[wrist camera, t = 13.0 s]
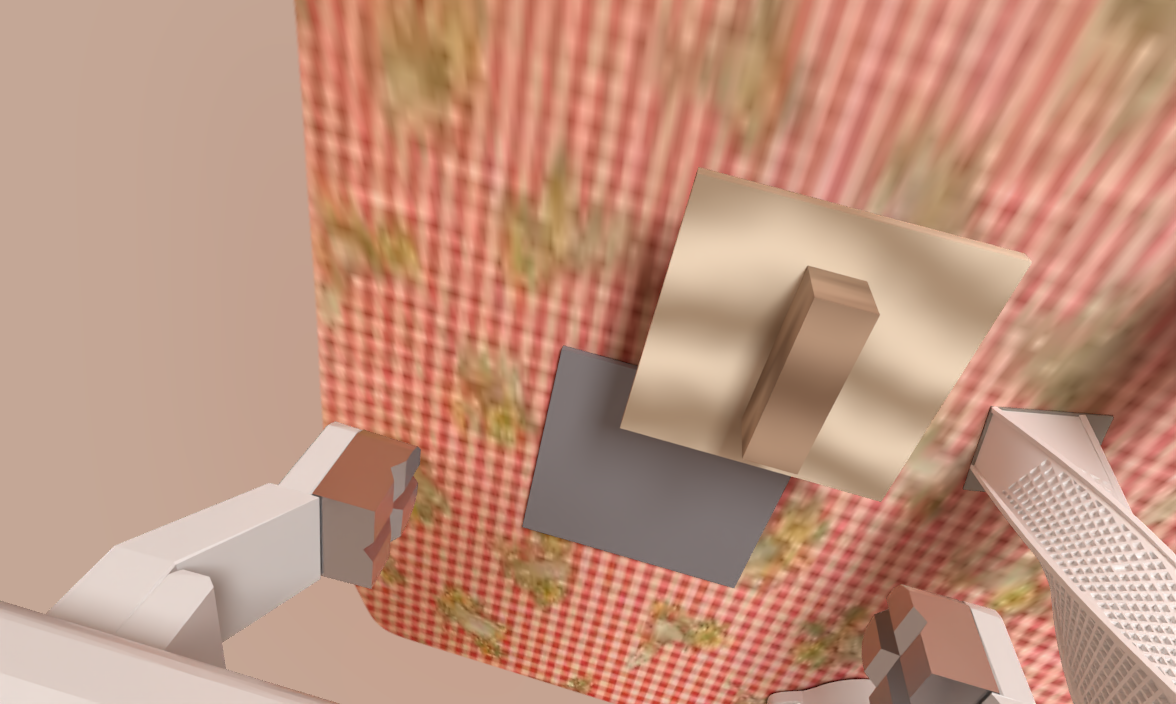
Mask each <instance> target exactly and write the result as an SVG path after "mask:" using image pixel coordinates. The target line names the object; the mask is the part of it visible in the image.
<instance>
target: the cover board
mask: <svg viewBox="0 0 1176 704" xmlns="http://www.w3.org/2000/svg"><path fill="white" fill-rule="evenodd" d="M1031 263H1032V261H1031V260H1030V259H1029V258H1028V257H1027V256H1026V254H1025V253H1021V252H1017V251H1013V250H1010V249H1006V248H1002V247H998V246H994V245H991V244H987V243H983V242H979V241H976V240H972V239H968V238H964V237H960V236H957V235H953V234H949V233H945V232H942V231H938V230H934V229H930V228H927V227H923V226H919V225H915V224H911V223H908V222H904V221H900V220H896V219H893V218H889V217H885V216H881V215H877V214H874V213H870V212H866V211H862V210H859V209H855V208H851V207H847V206H843V205H840V204H836V203H832V202H828V201H825V200H821V199H817V198H813V197H809V196H806V195H802V194H798V193H794V192H791V191H787V190H783V189H779V188H775V187H772V186H768V185H764V184H760V183H757V182H753V181H749V180H745V179H741V178H738V177H734V176H730V175H726V174H723V173H719V172H715V171H711V170H708V169H704V168H700V167H698V170H697V173H696V177H695V180H694V183H693V186H692V190H691V193H690V196H689V200H688V203H687V206H686V210H685V213H684V216H683V219H682V223H681V226H680V229H679V233H678V236H677V239H676V243H675V246H674V249H673V252H672V256H671V259H670V262H669V266H668V269H667V272H666V276H665V279H664V282H663V285H662V289H661V292H660V295H659V299H658V302H657V305H656V309H655V312H654V315H653V318H652V322H651V325H650V328H649V332H648V335H647V338H646V341H645V345H644V348H643V351H642V355H641V358H640V361H639V365H638V368H637V371H636V374H635V378H634V381H633V384H632V388H631V391H630V394H629V398H628V401H627V404H626V407H625V411H624V414H623V417H622V421H621V426H620V428H621V429H625V430H629V431H632V432H636V433H639V434H643V435H646V436H650V437H653V438H657V439H660V440H664V441H668V442H671V443H675V444H678V445H682V446H685V447H689V448H692V449H696V450H699V451H703V452H707V453H710V454H714V455H717V456H721V457H724V458H728V459H731V460H735V461H738V462H742V463H746V464H749V465H753V466H756V467H760V468H763V469H767V470H770V471H774V472H777V473H781V474H785V475H788V476H792V477H795V478H799V479H802V480H806V481H809V482H813V483H816V484H820V485H824V486H827V487H831V488H834V489H838V490H841V491H845V492H848V493H852V494H855V495H859V496H862V497H866V498H870V499H873V500H877V501H880V502H881V501H882V500H883V498H884V497H885V495H886V493H887V492H888V490H889V489H890V487H891V485H892V484H893V482H894V481H895V479H896V477H897V476H898V474H899V473H900V471H901V470H902V468H903V466H904V465H905V463H906V462H907V460H908V458H909V457H910V455H911V454H912V452H913V451H914V449H915V447H916V446H917V444H918V443H919V441H920V439H921V438H922V436H923V435H924V433H925V431H926V430H927V428H928V427H929V425H930V424H931V422H932V420H933V419H934V417H935V416H936V414H937V412H938V411H939V409H940V408H941V406H942V405H943V403H944V401H945V400H946V398H947V397H948V395H949V393H950V392H951V390H952V389H953V387H954V385H955V384H956V382H957V381H958V379H959V378H960V376H961V374H962V373H963V371H964V370H965V368H966V366H967V365H968V363H969V362H970V360H971V358H972V357H973V355H974V354H975V352H976V351H977V349H978V347H979V346H980V344H981V343H982V341H983V339H984V338H985V336H986V335H987V333H988V332H989V330H990V328H991V327H992V325H993V324H994V322H995V320H996V319H997V317H998V316H999V314H1000V312H1001V311H1002V309H1003V308H1004V306H1005V305H1006V303H1007V301H1008V300H1009V298H1010V297H1011V295H1012V293H1013V292H1014V290H1015V289H1016V287H1017V286H1018V284H1019V282H1020V281H1021V279H1022V278H1023V276H1024V274H1025V273H1026V271H1027V270H1028V268H1029V266H1030V265H1031Z"/></svg>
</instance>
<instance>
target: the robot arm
mask: <svg viewBox="0 0 1176 704" xmlns="http://www.w3.org/2000/svg"><path fill="white" fill-rule="evenodd" d="M420 451H421V449H420V448H419V447H418V446H414V445H411V444H408V443H405V442H402V441H398V440H395V439H392V438H389V437H386V436H382V435H379V434H376V433H373V432H370V431H366V430H361V429H358V428H355V427H351V426H348V425H345V424H342V423H339V422H336V421H335V422H333V423H331V424H329V425H328V426H326V427H325V429H324V430H323V431H322V432H321V433H320V435H319V436H318V437H317V438H316V439H315V441H314V442H313V443H312V444H311V445H310V447H309V448H308V449H307V450H306V452H305V453H304V454H303V455H302V456H301V458H300V459H299V460H298V461H297V463H296V464H295V465H294V466H293V467H292V469H291V470H290V471H289V472H288V473H287V475H286V476H285V477H284V478H283V479H282V481H281V482H280V483H279V484H278V485H276V484H272V483H267V484H265V485H263V486H260V487H258V488H255V489H253V490H250V491H248V492H246V493H243V494H240V495H238V496H236V497H233V498H231V499H228V500H226V501H223V502H221V503H218V504H216V505H213V506H211V507H209V508H206V509H204V510H202V511H199V512H196V513H194V514H191V515H189V516H187V517H184V518H182V519H179V520H177V521H174V522H172V523H169V524H167V525H164V526H162V527H159V528H157V529H155V530H152V531H150V532H147V533H145V534H142V535H140V536H137V537H135V538H132V539H130V540H128V541H125V542H123V543H120V544H118V545H115V546H114V547H113V548H112V549H111V550H110V551H109V552H108V553H107V554H106V555H105V556H104V557H103V558H102V559H101V560H100V561H99V562H98V563H97V564H96V565H95V566H94V567H93V568H92V569H91V570H90V571H89V572H88V573H87V574H86V575H85V576H84V577H82V578H81V579H80V581H78V582H77V583H76V584H75V585H74V586H73V587H72V588H71V589H70V590H69V591H68V592H67V593H66V594H65V595H64V596H63V597H62V598H61V599H60V600H59V601H58V602H57V603H56V604H55V605H54V606H53V607H52V608H51V609H50V610H49V611H48V612H47V613H46V614H43V613H39V612H36V611H32V610H29V609H26V608H23V607H20V606H16V605H13V604H10V603H6V602H3V601H0V704H339V703H336V702H332V701H329V700H326V699H322V698H319V697H316V696H312V695H309V694H306V693H302V692H299V691H296V690H293V689H289V688H286V687H283V686H280V685H276V684H273V683H270V682H266V681H263V680H260V679H256V678H253V677H250V676H246V675H243V674H240V673H237V672H233V671H230V670H227V669H226V667H225V660H224V653H223V647H222V642H224V641H225V640H227V639H229V638H230V637H232V636H233V635H235V634H236V633H238V632H239V631H241V630H243V629H244V628H246V627H247V626H249V625H250V624H252V623H253V622H255V621H256V620H258V619H259V618H261V617H262V616H264V615H266V614H267V613H269V612H270V611H272V610H273V609H275V608H276V607H278V606H279V605H281V604H282V603H284V602H285V601H287V600H288V599H290V598H292V597H293V596H295V595H296V594H298V593H299V592H301V591H302V590H304V589H306V588H307V587H309V586H310V585H312V584H313V583H315V582H316V581H318V580H319V579H320V578H321V576H325V577H328V578H332V579H336V580H340V581H344V582H347V583H351V584H355V585H358V586H362V587H366V588H370V589H372V587H373V585H374V583H375V582H376V580H377V578H378V576H379V575H380V573H381V571H382V569H383V567H384V566H385V564H386V562H387V560H388V558H389V554H390V542H391V541H393V540H395V539H396V538H398V537H400V536H401V535H402V533H403V531H404V529H405V527H406V525H407V523H408V521H409V518H410V516H411V513H412V510H413V508H414V504H415V500H416V495H417V488H418V482H417V481H416V479H415V478H414V476H413V475H414V473H415V472H416V470H417V468H418V466H419V465H420ZM886 599H887V603H888V608H889V609H888V610H885V611H882V612H880V613H877V614H874V616H873V617H872V619H871V621H870V622H869V624H868V625H867V627H866V630H865V634H864V638H863V642H862V661H863V667H864V672H865V673H866V675H867V676H868V677H869V679H853V680H843V681H837V682H832V683H828V684H824V685H821V686H818V687H815V688H812V689H808V690H804V691H788V692H778V693H774V694H772V695H770V696H769V698H768V700H767V704H1036V703H1035V700H1034V698H1033V695H1032V693H1031V690H1030V688H1029V685H1028V683H1027V680H1026V678H1025V675H1024V673H1023V670H1022V668H1021V665H1020V663H1019V660H1018V658H1017V655H1016V653H1015V650H1014V648H1013V645H1012V643H1011V640H1010V637H1009V635H1008V632H1007V630H1006V627H1005V625H1004V622H1003V620H1002V618H1001V616H1000V615H999V614H998V613H997V612H996V611H995V610H993V609H990V608H986V607H983V606H979V605H975V604H972V603H968V602H964V601H959V600H957V599H953V598H949V597H946V596H942V595H939V594H935V593H931V592H928V591H924V590H920V589H917V588H913V587H910V586H906V585H902V584H900V585H898V586H897V587H895V588H893V589H892V591H891V592H890V594H889V595H888V596H887V598H886Z"/></svg>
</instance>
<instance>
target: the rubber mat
mask: <svg viewBox="0 0 1176 704" xmlns="http://www.w3.org/2000/svg"><path fill="white" fill-rule="evenodd" d="M637 368H638V366H636V365H632V364H629V363H625V362H621V361H618V360H614V359H610V358H607V357H603V356H600V355H596V354H592V353H589V352H585V351H582V350H578V349H574V348H571V347H567V346H564V345H563V348H562V351H561V355H560V360H559V364H558V369H557V373H556V378H555V382H554V387H553V391H552V396H551V400H550V405H549V409H548V414H547V419H546V423H545V428H544V432H543V437H542V441H541V446H540V450H539V455H538V459H537V464H536V468H535V473H534V477H533V482H532V486H531V491H530V495H529V500H528V504H527V509H526V513H525V518H524V522H523V527H524V528H528V529H531V530H535V531H538V532H542V533H545V534H548V535H552V536H555V537H559V538H562V539H566V540H569V541H573V542H576V543H580V544H583V545H587V546H590V547H593V548H597V549H600V550H604V551H607V552H611V553H614V554H618V555H621V556H625V557H628V558H631V559H635V560H638V561H642V562H645V563H649V564H652V565H656V566H659V567H663V568H666V569H670V570H673V571H676V572H680V573H683V574H687V575H690V576H694V577H697V578H701V579H704V580H708V581H711V582H715V583H718V584H721V585H725V586H728V587H732V588H734V587H735V585H736V583H737V581H738V579H739V578H740V576H741V574H742V572H743V570H744V568H745V566H746V564H747V562H748V560H749V558H750V556H751V554H752V552H753V550H754V548H755V546H756V544H757V542H758V540H759V538H760V536H761V534H762V532H763V530H764V528H765V526H766V525H767V523H768V521H769V519H770V517H771V515H772V513H773V511H774V509H775V507H776V505H777V503H778V501H779V499H780V497H781V495H782V493H783V491H784V489H785V487H786V485H787V483H788V481H789V479H790V477H791V476H788V475H785V474H781V473H777V472H774V471H770V470H767V469H763V468H760V467H756V466H753V465H749V464H746V463H742V462H738V461H735V460H731V459H728V458H724V457H721V456H717V455H714V454H710V453H707V452H703V451H699V450H696V449H692V448H689V447H685V446H682V445H678V444H675V443H671V442H668V441H664V440H660V439H657V438H653V437H650V436H646V435H643V434H639V433H636V432H632V431H629V430H625V429H621V428H620V426H621V421H622V417H623V414H624V411H625V407H626V404H627V401H628V398H629V394H630V391H631V388H632V384H633V381H634V378H635V374H636V371H637Z"/></svg>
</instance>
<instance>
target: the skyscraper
mask: <svg viewBox="0 0 1176 704" xmlns="http://www.w3.org/2000/svg"><path fill="white" fill-rule="evenodd" d="M1113 418H1114V417H1113V415H1099V414H1086V413H1073V412H1060V411H1047V410H1034V409H1021V408H1007V407H997V406H991V408H990V411H989V414H988V417H987V420H986V423H985V426H984V428H983V431H982V434H981V437H980V440H979V443H978V446H977V449H976V452H975V455H974V458H973V460H972V463H971V466H970V469H969V472H968V475H967V478H966V481H965V484H964V487H963V489H964V490H972V491H983V492H987V494H988V495H989V497H990V498H991V499H992V501H993V502H994V504H995V505H996V506H997V508H998V509H999V510H1000V512H1001V513H1002V514H1003V516H1004V517H1005V518H1006V520H1007V521H1008V522H1009V524H1010V525H1011V526H1012V528H1013V529H1014V530H1015V531H1016V533H1017V534H1018V535H1019V536H1020V538H1021V539H1022V540H1023V541H1024V543H1025V544H1026V545H1027V546H1028V547H1029V549H1030V550H1031V551H1032V552H1033V553H1034V555H1035V556H1036V557H1037V558H1038V559H1039V562H1040V564H1041V566H1042V568H1043V570H1044V572H1045V575H1046V577H1047V580H1048V583H1049V586H1050V589H1051V599H1052V609H1053V619H1054V625H1055V632H1056V638H1057V644H1058V649H1059V653H1060V658H1061V663H1062V667H1063V671H1064V674H1065V678H1066V682H1067V685H1068V689H1069V692H1070V695H1071V698H1072V701H1073V703H1074V704H1176V555H1175V554H1174V553H1173V552H1172V551H1171V550H1170V549H1169V548H1168V547H1167V546H1166V545H1165V544H1164V543H1163V542H1162V541H1161V540H1160V539H1159V538H1158V537H1157V536H1156V535H1155V534H1154V533H1153V532H1152V531H1151V530H1150V529H1149V528H1148V527H1147V526H1146V525H1145V524H1144V523H1142V522H1141V521H1140V520H1139V519H1138V518H1137V517H1136V516H1135V515H1133V513H1132V511H1131V509H1130V507H1129V505H1128V503H1127V500H1126V498H1125V496H1124V494H1123V492H1122V489H1121V487H1120V485H1119V483H1118V481H1117V479H1116V477H1115V475H1114V473H1113V471H1112V469H1111V466H1110V464H1109V462H1108V460H1107V458H1106V456H1105V454H1104V452H1103V450H1102V448H1101V444H1102V441H1103V439H1104V437H1105V435H1106V433H1107V431H1108V428H1109V426H1110V424H1111V422H1112V420H1113Z"/></svg>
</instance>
